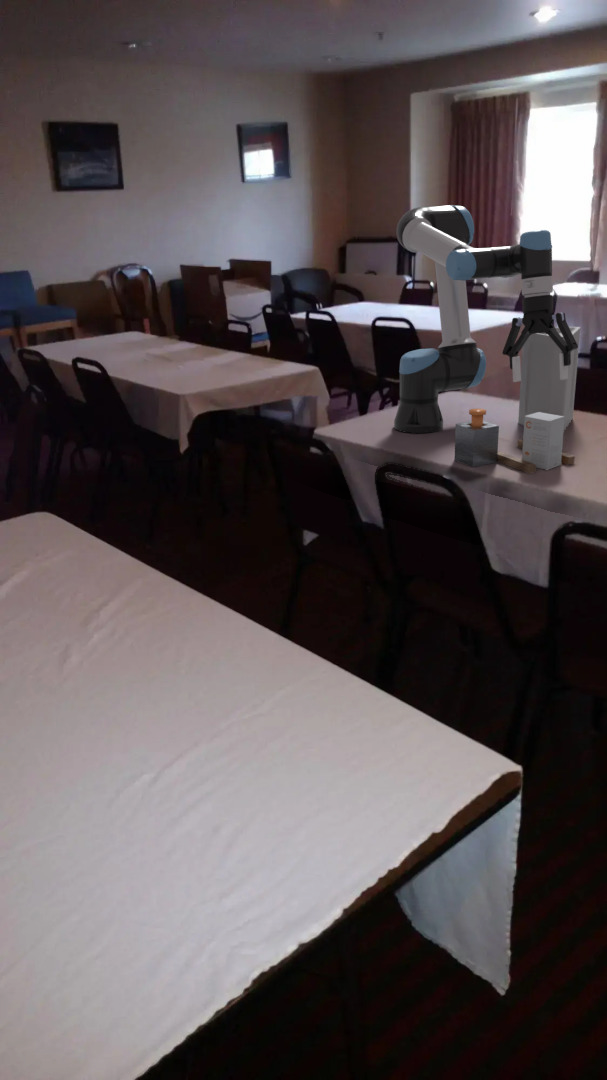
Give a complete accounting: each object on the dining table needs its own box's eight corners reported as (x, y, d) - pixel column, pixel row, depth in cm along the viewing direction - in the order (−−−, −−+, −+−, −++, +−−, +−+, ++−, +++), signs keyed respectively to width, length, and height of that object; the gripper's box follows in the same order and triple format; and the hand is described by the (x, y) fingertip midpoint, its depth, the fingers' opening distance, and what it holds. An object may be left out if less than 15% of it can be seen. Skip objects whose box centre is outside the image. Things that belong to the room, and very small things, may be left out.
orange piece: (464, 435, 214) (465, 410, 211) (478, 432, 216) (479, 407, 213) (475, 438, 210) (476, 413, 208) (488, 436, 212) (489, 410, 209)
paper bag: (525, 415, 258) (530, 326, 247) (573, 418, 252) (580, 326, 241) (511, 430, 242) (517, 335, 232) (562, 433, 236) (570, 336, 225)
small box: (561, 465, 209) (565, 416, 204) (546, 470, 205) (550, 420, 200) (535, 458, 215) (538, 411, 210) (520, 464, 211) (523, 415, 206)
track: (479, 454, 221) (480, 447, 220) (523, 445, 226) (523, 439, 226) (528, 473, 204) (529, 466, 203) (574, 463, 210) (574, 456, 209)
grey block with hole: (454, 459, 217) (455, 423, 213) (478, 454, 220) (479, 419, 217) (472, 467, 211) (474, 430, 207) (497, 462, 214) (498, 425, 210)
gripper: (487, 301, 210) (490, 383, 215) (575, 289, 192) (577, 379, 197) (503, 300, 215) (506, 381, 220) (590, 289, 197) (592, 376, 202)
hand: (540, 380), depth 208 cm, fingers open, 13 cm apart
